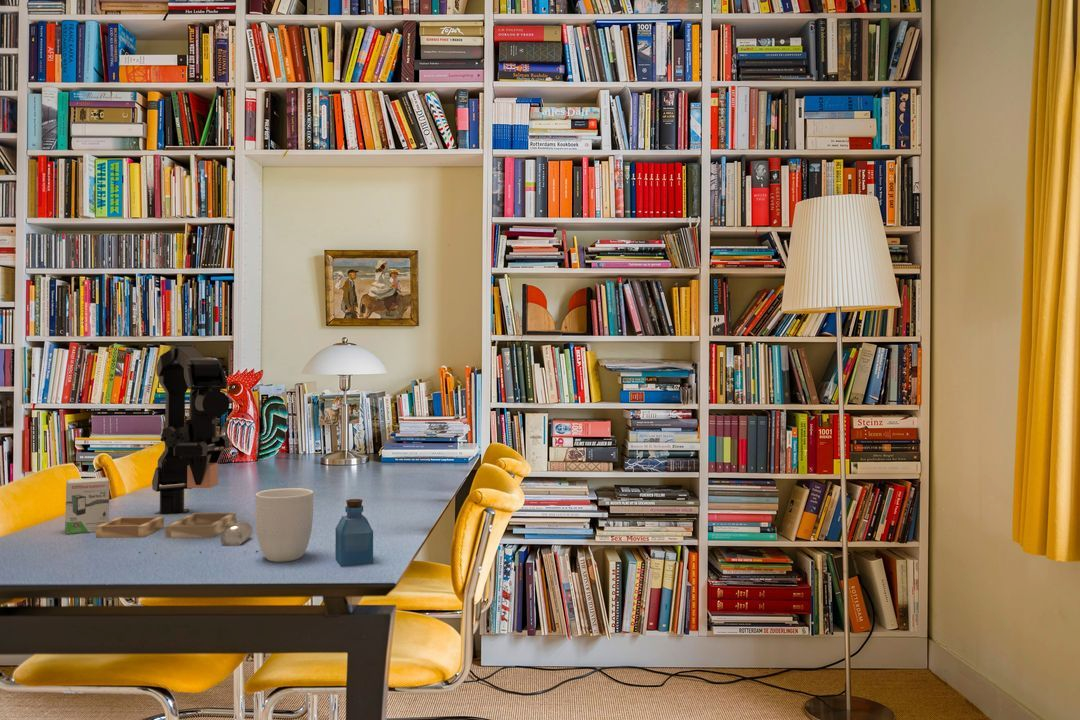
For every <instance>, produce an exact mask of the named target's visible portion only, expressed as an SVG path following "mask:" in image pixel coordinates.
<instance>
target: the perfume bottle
mask: <svg viewBox="0 0 1080 720" xmlns="http://www.w3.org/2000/svg"><path fill="white" fill-rule="evenodd" d="M345 502H346V506H345V507H344V508H345V510H344V511H345V513H346V515H342V516H341V518H340V519H339V521H338V523H337V524H336V527H335V545H334V546H335V547H334V548H335V555H334V557H335V558H334V559H335V561H336V563H337V564H338V566H340V567H353V566H361V565H362V566H363V565H372V564H374V531H373V528H372V527H371V524H370V522H369V521H368V518H366V516H364V514H363V512H364V505H362V504H363V499H360V498H352V499H351V498H349V499H346V500H345Z"/></svg>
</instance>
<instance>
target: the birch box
mask: <svg viewBox="0 0 1080 720" xmlns="http://www.w3.org/2000/svg"><path fill="white" fill-rule="evenodd" d="M235 523H237V512H192V513H190V514H188V515H186V516H184V517H182V518H180V519H178V520H176V521H174V522H172V523H170V524H168V525H166V526H165V534H164V535H165V538H166V539H171V538H172V539H177V538H179V539H181V538H184V539H186V538H191V539H192V538H193V539H194V538H196V539H197V538H198V539H199V538H201V539H202V538H205V539H206V538H207V539H208V538H215V537H216V536H218V535H220V534H222V533H223V531H224V530H226V529H227V528H229V527H231V526H232V525H234V524H235Z"/></svg>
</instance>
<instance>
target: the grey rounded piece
mask: <svg viewBox="0 0 1080 720" xmlns="http://www.w3.org/2000/svg"><path fill="white" fill-rule="evenodd" d="M220 534H221V535H220V542H221V545H222V546H224V547H225V546H227V547H228V546H230V547H231V546H233V547H235V546H237V547H238V546H241V545H242V544H243V543H245V542H246V541H248V540H249V539H250V538H251V537H252V535H253V527H252V525H251V523H249V522H247V521H244V520H242V521H241V520H240V521H236V523H235V524H234V525H232V526H231V527H229V528H227V529H226V530H224V531H223V532H221V533H220Z"/></svg>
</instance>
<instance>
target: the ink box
mask: <svg viewBox="0 0 1080 720" xmlns="http://www.w3.org/2000/svg"><path fill="white" fill-rule="evenodd" d="M64 517H65V520H64V521H65V522H64V523H65V526H64V532H65V533H66V535H73V534H74V533H75V534H82V533H83V534H85V533H96V526H98V525H101V524H103V523H106V522H108V521H110V519H109V518H110V479H109V478H108V477H106V476H105V477H104V476H103V477H86V478H85V477H82V478H70V479H68V480H66V485H65V515H64Z"/></svg>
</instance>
